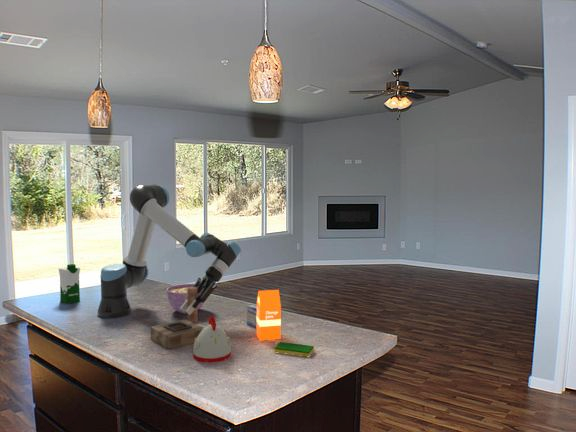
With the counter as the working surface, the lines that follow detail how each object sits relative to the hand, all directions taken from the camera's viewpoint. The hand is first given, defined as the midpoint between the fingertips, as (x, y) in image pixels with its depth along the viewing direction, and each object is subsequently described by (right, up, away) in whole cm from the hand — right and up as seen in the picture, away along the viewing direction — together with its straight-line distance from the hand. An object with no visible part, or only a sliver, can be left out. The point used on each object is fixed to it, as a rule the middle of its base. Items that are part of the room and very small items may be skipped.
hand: (184, 311), depth 209 cm
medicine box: (+31, -7, +4) cm, 32 cm away
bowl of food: (-5, -5, +26) cm, 27 cm away
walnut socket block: (0, -8, -15) cm, 17 cm away
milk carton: (-70, -3, +42) cm, 82 cm away
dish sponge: (+48, -10, -27) cm, 56 cm away
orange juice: (+37, -9, -11) cm, 40 cm away
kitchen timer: (+17, -10, -32) cm, 38 cm away
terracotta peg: (+3, -6, +3) cm, 7 cm away
